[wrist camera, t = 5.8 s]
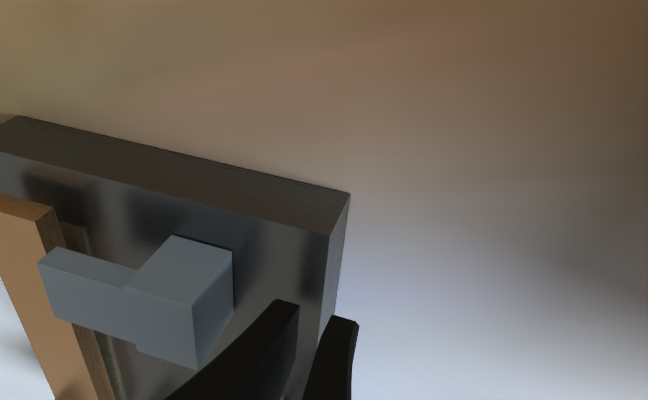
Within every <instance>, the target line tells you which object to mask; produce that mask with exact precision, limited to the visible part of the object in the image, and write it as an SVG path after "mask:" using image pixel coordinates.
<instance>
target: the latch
mask: <svg viewBox="0 0 648 400" xmlns="http://www.w3.org/2000/svg"><path fill="white" fill-rule="evenodd" d="M37 266H38V269H39V272H40V275H41V278H42V281H43V284H44V287H45V290H46V293H47V296H48V299H49V302H50V305H51V308H52V311H53V314H54V317H56V318H59V319H62V320H65V321H68V322H71V323H74V324H77V325H80V326H83V327H86V328H89V329H92V330H95V331H98V332H101V333H104V334H107V335H110V336H113V337H116V338H119V339H122V340H125V341H128V342H131V343H134V344H136V348H137V351H139V352H142V353H145V354H148V355H151V356H154V357H157V358H160V359H163V360H166V361H169V362H172V363H175V364H178V365H181V366H184V367H187V368H190V369H193V370H196V371H198V370H199V369H200V367H201V365H202V364H203V362H204V361H205V359H206V357H207V356H208V354H209V353H210V351H211V349H212V348H213V346H214V345H215V343H216V341H217V340H218V338H219V337H220V335H221V333H222V332H223V330H224V329H225V327H226V325H227V324H228V322H229V321H230V319H231V317H232V316H233V314H234V306H233V275H232V251H228V250H225V249H221V248H217V247H214V246H210V245H206V244H203V243H199V242H195V241H192V240H188V239H185V238H181V237H177V236H174V235H171V236H170V237H169V238H168V239H167V240H166V241H165V242H164V243H163V244H162V246H161V247H160V248H159V249H158V250H157V251H156V252H155V253H154V254H153V255H152V256H151V257H150V258H149V259H148V260H147V261H146V262H145V264H144V265H143V266H142V267H141V268H140V269H139V270H135V269H132V268H129V267H125V266H122V265H119V264H115V263H112V262H108V261H105V260H102V259H98V258H95V257H91V256H88V255H85V254H81V253H78V252H75V251H71V250H68V249H64V248H61V247H58V246H56V247H55V248H54V249H53V250H52V251H50V252H49V253H48V254H47V255H45V256H44V257H43V258H42V259H40V260H39V261H38V262H37Z"/></svg>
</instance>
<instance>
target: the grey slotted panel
mask: <svg viewBox="0 0 648 400" xmlns="http://www.w3.org/2000/svg"><path fill="white" fill-rule="evenodd" d="M0 192H1V193H5V194H8V195H12V196H15V197H19V198H23V199H26V200H30V201H33V202H37V203H41V204H44V205H48V206H52V207H54V208H55V211H56V215H57V218H58V221H59V224H60V227H61V230H62V233H63V236H64V240H65V243H66V246H67V249H68V250H71V251H75V252H78V253H81V254H85V255H88V256H91V257H95V258H98V259H102V260H105V261H108V262H112V263H115V264H119V265H122V266H125V267H129V268H132V269H135V270H139V269H140V268H141V267H142V266H143V265H144V264H145V262H146V261H147V260H148V259H149V258H150V257H151V256H152V255H153V254H154V253H155V252H156V251H157V250H158V249H159V248H160V247H161V246H162V244H163V243H164V242H165V241H166V240H167V239H168V238H169V237H170V236H171V235H174V236H177V237H181V238H185V239H188V240H192V241H195V242H199V243H203V244H206V245H210V246H214V247H217V248H221V249H225V250H228V251H232V275H233V306H234V314H233V316H232V317H231V319H230V321H229V322H228V324H227V325H226V327H225V329H224V330H223V332H222V333H221V335H220V337H219V338H218V340H217V341H216V343H215V345H214V346H213V348H212V349H211V351H210V353H209V354H208V356H207V357H206V359H205V361H204V362H203V364H202V365H201V367H200V369H199V370H198V371H196V370H193V369H190V368H187V367H184V366H181V365H178V364H175V363H172V362H169V361H166V360H163V359H160V358H157V357H154V356H151V355H148V354H145V353H142V352H139V351H137V348H136V344H134V343H131V342H128V341H125V340H122V339H119V338H116V337H113V336H110V335H107V334H104V333H101V332H98V331H95V330H94V333H95V336H96V340H97V343H98V346H99V349H100V352H101V355H102V358H103V361H104V365H105V368H106V371H107V374H108V377H109V380H110V383H111V386H112V390H113V393H114V396H115V399H116V400H163V399H164V398H166V397H167V396H168V395H170V394H171V393H173V392H174V391H175V390H176V389H178V388H179V387H180V386H182V385H183V384H184V383H185V382H187V381H188V380H189V379H190V378H192V377H193V376H194V375H195V374H196V373H198V372H199V371H200V370H201V369H202V368H204V367H205V366H206V365H207V364H208V363H210V362H211V361H212V360H213V359H214V358H215V357H217V356H218V355H219V354H220V353H221V352H222V351H223V350H224V349H225V348H226V347H227V346H229V345H230V344H231V343H232V342H233V341H234V340H235V339H236V338H237V337H238V336H239V335H240V334H241V333H242V332H243V331H244V330H246V329H247V328H248V327H249V326H250V325H251V324H252V323H253V322H254V321H255V320H256V318H257V317H258V316H259V315H260V314H261V313H262V312H263V311H264V310H265V309H266V308H267V307H268V306H269V305H270V303H271V302H272V301H273V300H275V299H280V300H284V301H287V302H291V303H294V304H298V305H300V312H299V324H298V336H297V348H296V358H295V361H294V364H293V367H292V369H291V372H290V375H289V378H288V380H287V383H286V386H285V388H284V391H283V394H282V396H281V398H280V400H302V397H303V394H304V391H305V387H306V384H307V381H308V377H309V374H310V370H311V367H312V364H313V360H314V357H315V354H316V350H317V347H318V344H319V341H320V338H321V336H322V333H323V331H324V329H325V327H326V325H327V323H328V321H329V319H330V317H331V315H334V311H335V304H336V296H337V289H338V282H339V274H340V267H341V259H342V252H343V245H344V237H345V230H346V223H347V215H348V208H349V201H350V194H348V193H344V192H340V191H336V190H331V189H327V188H323V187H319V186H314V185H310V184H306V183H302V182H298V181H293V180H289V179H285V178H281V177H276V176H272V175H268V174H264V173H260V172H255V171H251V170H247V169H243V168H238V167H234V166H230V165H226V164H221V163H217V162H213V161H209V160H205V159H200V158H196V157H192V156H188V155H183V154H179V153H175V152H171V151H167V150H162V149H158V148H154V147H150V146H145V145H141V144H137V143H133V142H128V141H124V140H120V139H116V138H112V137H107V136H103V135H99V134H95V133H90V132H86V131H82V130H78V129H74V128H69V127H65V126H61V125H57V124H52V123H48V122H44V121H40V120H35V119H31V118H27V117H23V116H17V117H15V118H13V119H10V120H8V121H6V122H4V123H2V124H0ZM55 400H56V399H55Z"/></svg>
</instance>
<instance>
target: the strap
mask: <svg viewBox="0 0 648 400" xmlns="http://www.w3.org/2000/svg"><path fill="white" fill-rule="evenodd" d="M56 246H58V247H61V248H64V249H67V246H66V243H65V240H64V236H63V233H62V230H61V227H60V224H59V221H58V218H57V215H56V211H55V208H54V207H52V206H48V205H44V204H41V203H37V202H33V201H30V200H26V199H23V198H19V197H15V196H12V195H8V194H5V193H1V192H0V276H1V278H2V281H3V283H4V285H5V287H6V290H7V292H8V294H9V296H10V298H11V301H12V303H13V305H14V307H15V310H16V312H17V314H18V316H19V318H20V321H21V323H22V325H23V327H24V330H25V332H26V334H27V336H28V339H29V341H30V343H31V345H32V347H33V350H34V352H35V354H36V356H37V359H38V361H39V363H40V365H41V367H42V370H43V372H44V374H45V376H46V379H47V381H48V383H49V385H50V388H51V390H52V392H53V394H54V396H55V399H56V400H116V399H115V396H114V393H113V390H112V386H111V383H110V380H109V377H108V374H107V371H106V368H105V365H104V361H103V358H102V355H101V352H100V349H99V346H98V343H97V340H96V336H95V333H94V330H92V329H89V328H86V327H83V326H80V325H77V324H74V323H71V322H68V321H65V320H62V319H59V318H56V317H54V314H53V311H52V308H51V305H50V302H49V299H48V296H47V293H46V290H45V287H44V284H43V281H42V278H41V275H40V272H39V269H38V266H37V262H38V261H39V260H40V259H42V258H43V257H44V256H45V255H47V254H48V253H49V252H50V251H52V250H53V249H54V248H55V247H56Z"/></svg>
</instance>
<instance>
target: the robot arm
mask: <svg viewBox="0 0 648 400" xmlns="http://www.w3.org/2000/svg"><path fill="white" fill-rule="evenodd" d="M299 312H300V305H298V304H294V303H291V302H287V301H284V300H280V299H275V300H273V301H272V302H271V303H270V305H269V306H268V307H267V308H266V309H265V310H264V311H263V312H262V313H261V314H260V315H259V316H258V317H257V318H256V320H255V321H254V322H253V323H252V324H251V325H250V326H249V327H248V328H247V329H246V330H244V331H243V332H242V333H241V334H240V335H239V336H238V337H237V338H236V339H235V340H234V341H233V342H232V343H231V344H230V345H229V346H227V347H226V348H225V349H224V350H223V351H222V352H221V353H220V354H219V355H218V356H217V357H215V358H214V359H213V360H212V361H211V362H210V363H208V364H207V365H206V366H205V367H204V368H202V369H201V370H200V371H199V372H198V373H196V374H195V375H194V376H193V377H192V378H190V379H189V380H188V381H187V382H185V383H184V384H183V385H182V386H180V387H179V388H178V389H176V390H175V391H174V392H173V393H171V394H170V395H168V396H167V397H166V398H164V399H163V400H280V398H281V396H282V394H283V391H284V388H285V386H286V383H287V380H288V378H289V375H290V372H291V369H292V367H293V364H294V361H295V358H296V348H297V336H298V324H299ZM358 331H359V325H358V324H357V323H356V321H352V320H349V319H345V318H342V317H339V316H335V315H331V317H330V319H329V321H328V323H327V325H326V327H325V329H324V331H323V333H322V336H321V338H320V341H319V344H318V347H317V350H316V354H315V357H314V360H313V364H312V367H311V370H310V374H309V377H308V381H307V384H306V387H305V391H304V394H303V397H302V400H351V378H352V363H353V358H354V352H355V347H356V342H357V336H358Z"/></svg>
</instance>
